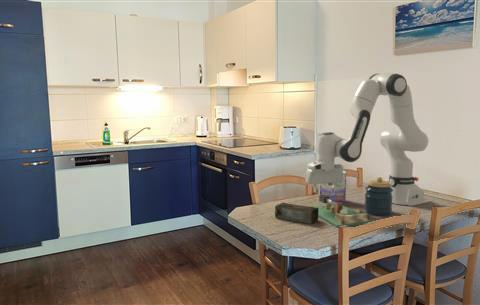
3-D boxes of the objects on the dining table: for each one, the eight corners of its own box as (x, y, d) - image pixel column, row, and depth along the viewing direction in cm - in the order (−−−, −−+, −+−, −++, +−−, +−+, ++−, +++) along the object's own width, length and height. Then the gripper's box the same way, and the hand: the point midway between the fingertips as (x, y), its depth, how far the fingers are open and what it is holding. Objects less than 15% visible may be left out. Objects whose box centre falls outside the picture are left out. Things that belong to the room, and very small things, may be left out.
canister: (366, 215, 192) (368, 179, 190) (362, 207, 205) (363, 174, 202) (394, 216, 190) (396, 180, 188) (388, 209, 203) (390, 174, 201)
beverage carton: (282, 213, 195) (282, 200, 194) (319, 220, 185) (319, 206, 184) (274, 217, 189) (274, 204, 188) (312, 225, 178) (312, 210, 177)
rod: (319, 204, 206) (319, 194, 205) (324, 203, 206) (324, 194, 206) (336, 213, 190) (337, 203, 189) (342, 213, 191) (342, 202, 190)
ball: (344, 215, 189) (345, 207, 189) (349, 217, 186) (349, 209, 185) (338, 215, 188) (338, 208, 187) (342, 218, 185) (342, 210, 184)
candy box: (344, 199, 221) (345, 170, 218) (345, 202, 215) (346, 172, 213) (319, 198, 223) (320, 169, 221) (319, 201, 217) (320, 171, 215)
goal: (361, 217, 186) (361, 210, 185) (369, 221, 180) (369, 213, 180) (334, 220, 181) (335, 212, 181) (342, 224, 176) (342, 216, 175)
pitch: (338, 205, 209) (339, 200, 208) (375, 223, 181) (375, 216, 180) (304, 208, 203) (304, 203, 202) (336, 227, 174) (336, 220, 174)
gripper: (339, 163, 207) (338, 189, 209) (304, 164, 200) (303, 191, 202) (346, 165, 201) (345, 191, 203) (310, 166, 194) (309, 194, 196)
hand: (324, 191), depth 202 cm, fingers open, 8 cm apart
